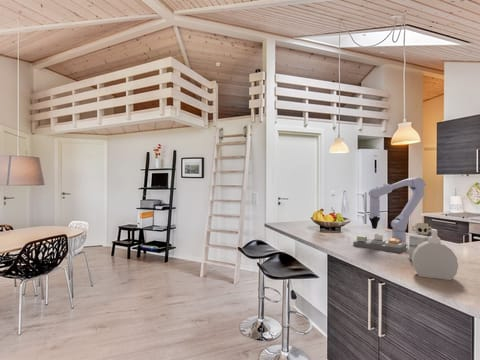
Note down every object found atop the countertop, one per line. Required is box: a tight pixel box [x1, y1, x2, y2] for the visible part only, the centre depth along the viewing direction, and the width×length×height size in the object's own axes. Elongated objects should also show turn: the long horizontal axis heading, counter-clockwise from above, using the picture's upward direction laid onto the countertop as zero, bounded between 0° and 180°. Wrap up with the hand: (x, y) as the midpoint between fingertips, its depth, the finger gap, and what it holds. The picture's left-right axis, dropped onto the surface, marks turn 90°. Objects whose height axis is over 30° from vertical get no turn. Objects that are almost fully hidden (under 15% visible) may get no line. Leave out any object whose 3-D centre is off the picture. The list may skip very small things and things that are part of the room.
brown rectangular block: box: [387, 237, 402, 244], centre depth 175 cm, size 10×5×3 cm, turn 138°
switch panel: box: [352, 238, 407, 254], centre depth 181 cm, size 14×26×4 cm, turn 48°
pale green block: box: [356, 234, 368, 242], centre depth 184 cm, size 3×5×3 cm, turn 48°
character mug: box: [411, 222, 433, 236], centre depth 191 cm, size 11×7×13 cm, turn 69°
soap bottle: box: [411, 228, 459, 281], centre depth 127 cm, size 16×5×20 cm, turn 67°
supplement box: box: [408, 233, 430, 261], centre depth 152 cm, size 7×7×13 cm
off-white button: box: [374, 233, 384, 240], centre depth 181 cm, size 4×4×3 cm
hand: (374, 228), depth 190 cm, fingers closed
